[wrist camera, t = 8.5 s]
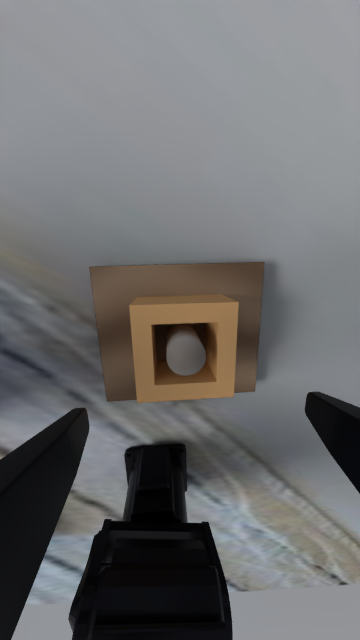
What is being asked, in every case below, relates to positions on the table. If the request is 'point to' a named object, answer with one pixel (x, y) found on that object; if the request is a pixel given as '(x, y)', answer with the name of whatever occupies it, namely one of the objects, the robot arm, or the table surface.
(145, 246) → the table surface
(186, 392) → the tan square ring
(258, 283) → the keeper plate
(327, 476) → the table surface
